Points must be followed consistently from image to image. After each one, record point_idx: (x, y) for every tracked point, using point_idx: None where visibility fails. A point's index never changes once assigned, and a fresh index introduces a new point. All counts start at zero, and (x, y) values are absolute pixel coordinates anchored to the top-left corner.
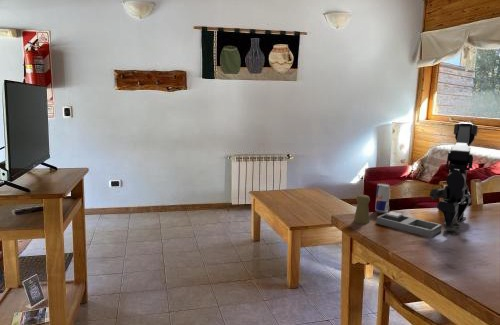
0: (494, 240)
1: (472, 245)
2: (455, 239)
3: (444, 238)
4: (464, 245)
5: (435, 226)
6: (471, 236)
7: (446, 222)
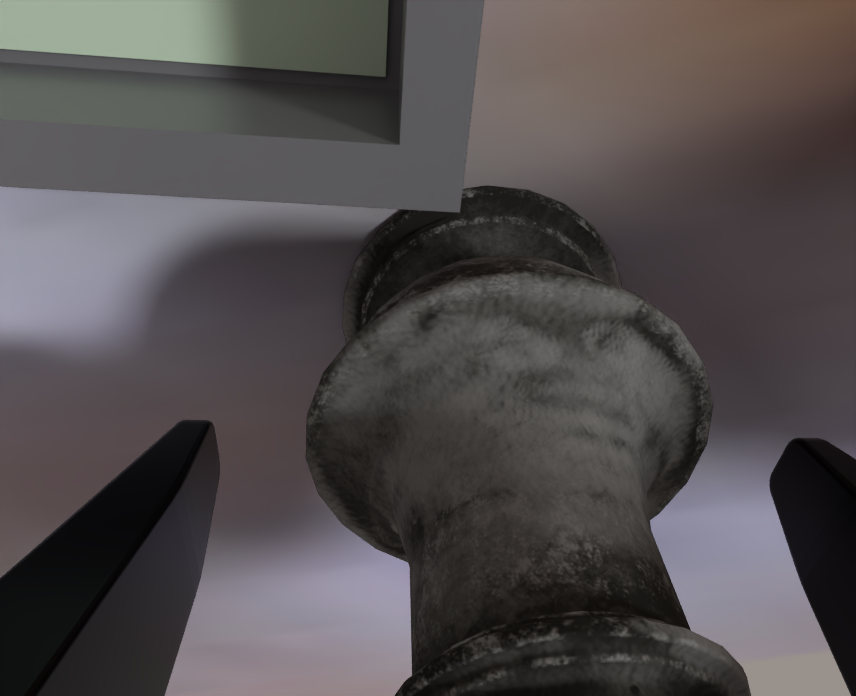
0: None
1: None
2: None
3: (66, 313)
4: None
5: (403, 24)
6: None
7: (100, 514)
